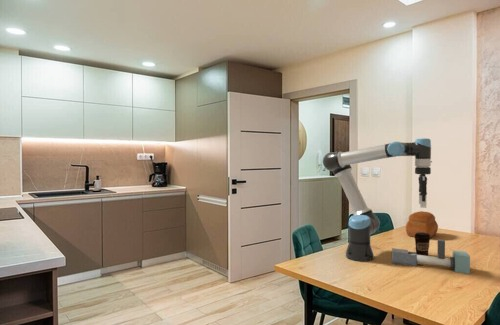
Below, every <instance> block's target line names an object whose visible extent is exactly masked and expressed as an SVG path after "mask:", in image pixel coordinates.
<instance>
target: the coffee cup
mask: <svg viewBox="0 0 500 325" xmlns="http://www.w3.org/2000/svg"><path fill="white" fill-rule="evenodd" d="M431 238H432V237H431V236H430V235H429V234H428V233H423V232H418V233H416V234H415V237H414V242H415V252H416V255H424V256H430V255H429V249H430V240H431Z"/></svg>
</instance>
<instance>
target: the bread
mask: <svg viewBox="0 0 500 325" xmlns="http://www.w3.org/2000/svg"><path fill="white" fill-rule="evenodd" d="M438 228H439V225H438V223H437V221H436V216H435V215H434V214H433V213H432V212H428V211H423V210H421V211H420V210H419V211H416V212H412V214H410V215H409V216H408V221H407V222H406V225H405V232H406V235H407V236H409V237H412V238H415V234H416V233H418V232H423V233H428V234H429V235H430V236H431V237H430V238H432V237H433V236H436V235H437V233H438V231H439V230H438Z"/></svg>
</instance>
